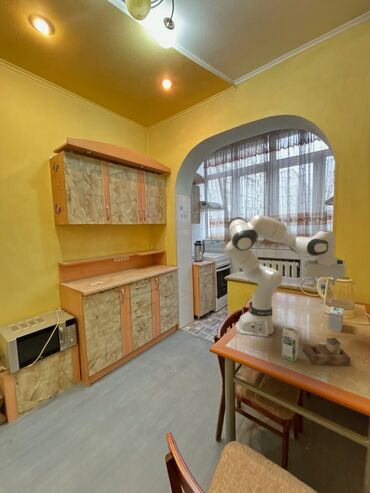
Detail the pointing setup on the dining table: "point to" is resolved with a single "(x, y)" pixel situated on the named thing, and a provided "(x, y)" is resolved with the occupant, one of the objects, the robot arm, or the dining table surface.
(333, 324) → the light bulb box
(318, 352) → the socket block
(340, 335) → the dining table surface
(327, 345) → the oak peg
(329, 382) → the dining table surface
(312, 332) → the dining table surface
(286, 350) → the syrup box
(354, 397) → the dining table surface
